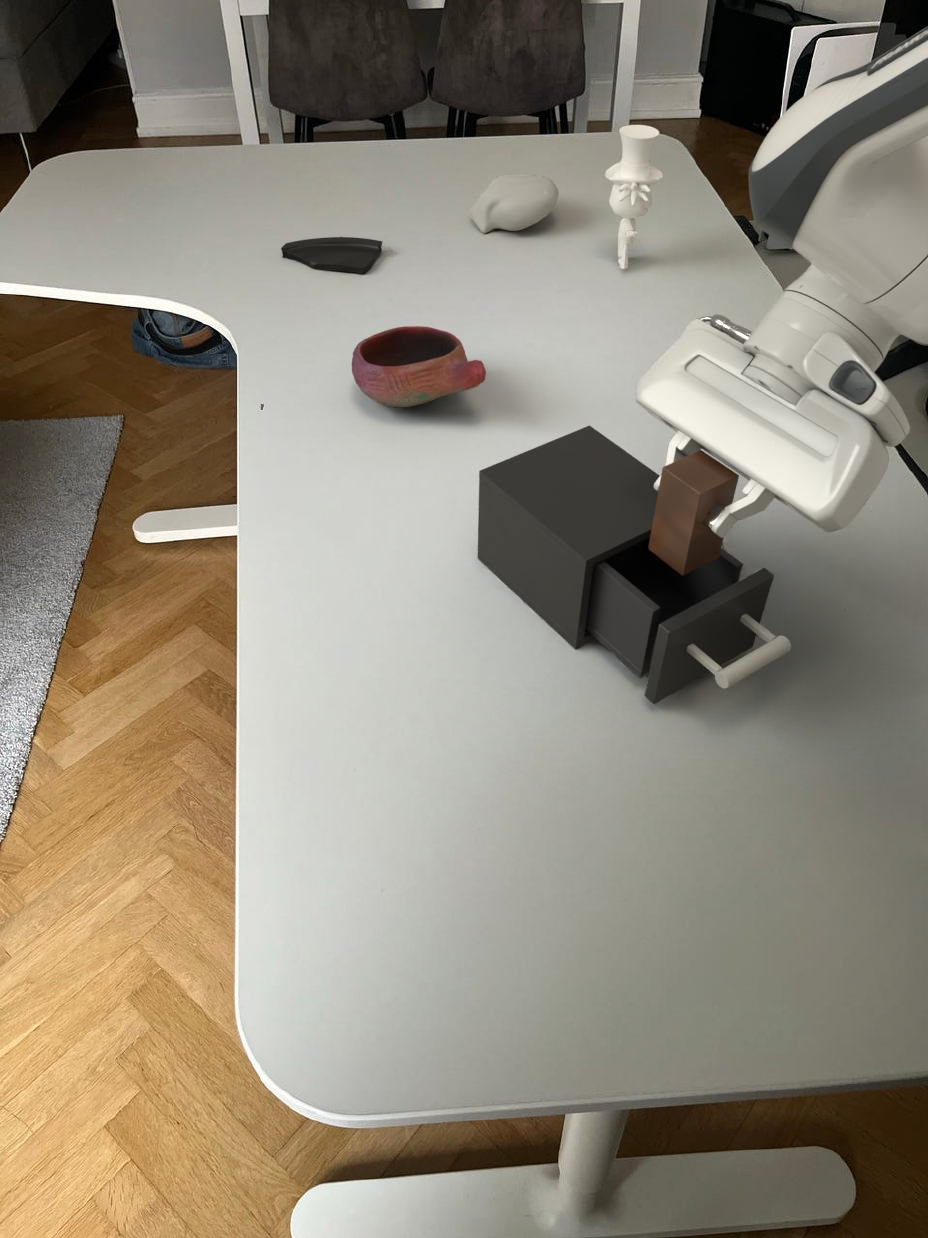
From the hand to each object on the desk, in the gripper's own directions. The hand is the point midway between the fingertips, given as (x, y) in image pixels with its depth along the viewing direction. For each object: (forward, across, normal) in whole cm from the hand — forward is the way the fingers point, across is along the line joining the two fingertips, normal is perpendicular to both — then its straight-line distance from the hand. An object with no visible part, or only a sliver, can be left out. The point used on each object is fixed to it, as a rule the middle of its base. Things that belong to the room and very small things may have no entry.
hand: (687, 512), depth 76 cm
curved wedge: (0, -84, +22) cm, 87 cm away
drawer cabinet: (+10, -12, +11) cm, 19 cm away
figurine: (-23, -59, +45) cm, 78 cm away
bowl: (+7, -46, +15) cm, 49 cm away
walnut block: (+3, 0, +4) cm, 4 cm away
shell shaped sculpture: (-20, -80, +42) cm, 92 cm away
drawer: (+10, 0, +11) cm, 14 cm away
